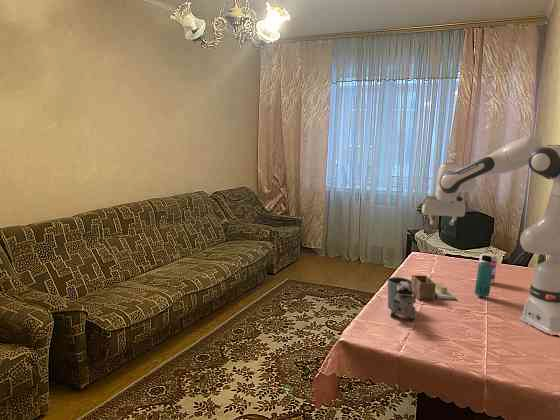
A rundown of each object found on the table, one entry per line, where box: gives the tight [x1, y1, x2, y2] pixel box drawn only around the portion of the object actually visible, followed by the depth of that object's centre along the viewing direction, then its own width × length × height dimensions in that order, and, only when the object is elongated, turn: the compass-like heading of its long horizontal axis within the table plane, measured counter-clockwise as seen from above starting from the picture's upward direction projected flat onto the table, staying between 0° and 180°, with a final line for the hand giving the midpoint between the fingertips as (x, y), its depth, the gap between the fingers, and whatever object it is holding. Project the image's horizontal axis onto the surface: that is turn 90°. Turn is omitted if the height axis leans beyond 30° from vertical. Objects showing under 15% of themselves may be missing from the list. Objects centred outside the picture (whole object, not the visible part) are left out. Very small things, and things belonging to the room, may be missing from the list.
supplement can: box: [478, 252, 498, 286], centre depth 229 cm, size 8×8×15 cm
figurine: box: [390, 281, 417, 323], centre depth 174 cm, size 9×12×15 cm
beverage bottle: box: [474, 255, 493, 297], centre depth 206 cm, size 6×7×20 cm
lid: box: [435, 282, 456, 299], centre depth 207 cm, size 13×8×4 cm, turn 1°
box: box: [410, 274, 436, 302], centre depth 204 cm, size 12×7×8 cm, turn 1°
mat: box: [434, 296, 458, 301], centre depth 208 cm, size 14×10×1 cm
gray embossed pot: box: [387, 276, 413, 310], centre depth 187 cm, size 10×10×12 cm
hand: (441, 224), depth 216 cm, fingers open, 8 cm apart
